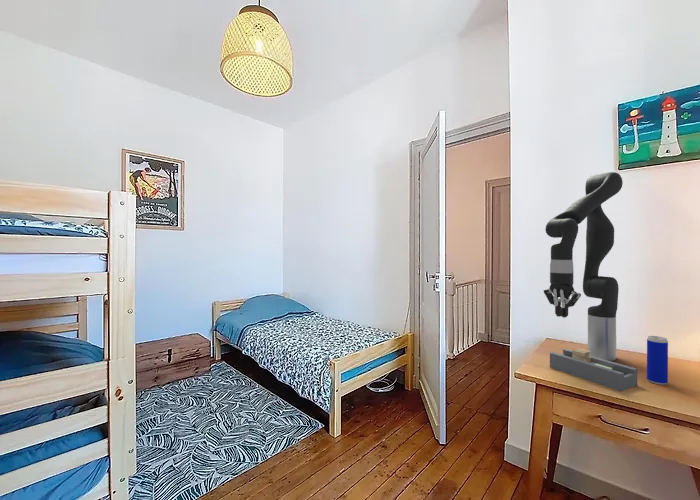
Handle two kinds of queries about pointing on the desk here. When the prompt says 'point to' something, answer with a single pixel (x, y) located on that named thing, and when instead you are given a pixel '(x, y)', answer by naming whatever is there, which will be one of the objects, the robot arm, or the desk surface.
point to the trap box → (596, 370)
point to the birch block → (582, 355)
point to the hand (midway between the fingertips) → (561, 316)
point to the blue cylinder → (657, 360)
